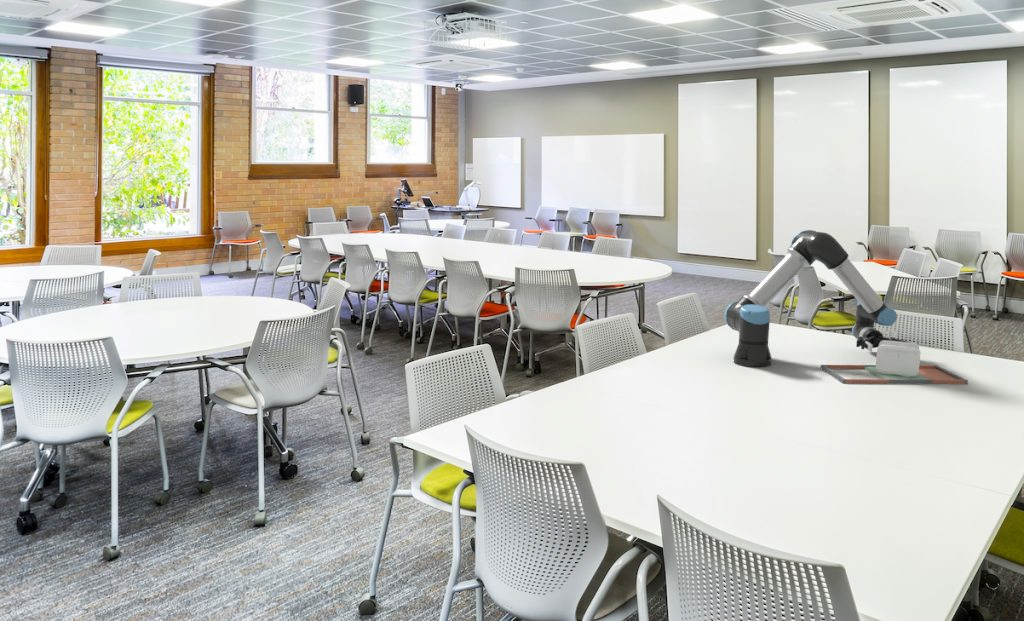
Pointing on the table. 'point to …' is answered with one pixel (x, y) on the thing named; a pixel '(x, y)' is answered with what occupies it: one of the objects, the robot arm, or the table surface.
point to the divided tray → (924, 376)
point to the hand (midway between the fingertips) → (889, 348)
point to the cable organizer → (898, 358)
